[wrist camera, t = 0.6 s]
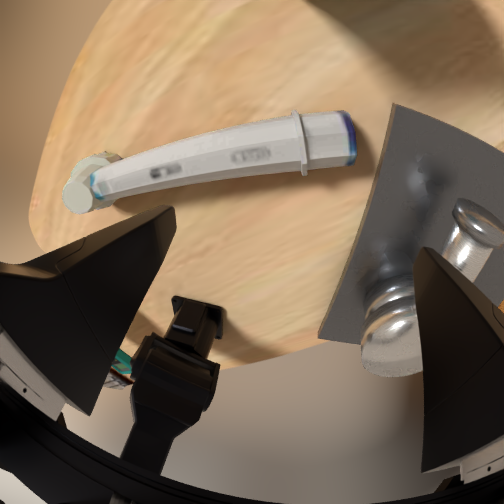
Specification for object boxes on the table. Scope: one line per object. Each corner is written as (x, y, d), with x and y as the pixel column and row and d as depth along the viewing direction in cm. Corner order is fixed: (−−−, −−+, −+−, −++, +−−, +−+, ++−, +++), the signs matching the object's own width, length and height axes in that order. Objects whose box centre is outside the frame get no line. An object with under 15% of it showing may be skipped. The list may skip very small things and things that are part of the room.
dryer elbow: (417, 350, 26) (422, 384, 22) (347, 342, 27) (347, 380, 23) (505, 215, 14) (532, 249, 11) (422, 183, 15) (448, 216, 12)
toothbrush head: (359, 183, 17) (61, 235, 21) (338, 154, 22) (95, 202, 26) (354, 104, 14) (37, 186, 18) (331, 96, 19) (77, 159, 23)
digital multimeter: (87, 318, 45) (79, 329, 43) (142, 363, 51) (137, 374, 48) (77, 325, 49) (71, 335, 47) (128, 366, 54) (123, 376, 52)
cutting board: (456, 347, 29) (462, 370, 26) (318, 331, 32) (316, 359, 29) (555, 189, 13) (576, 208, 10) (392, 102, 16) (410, 110, 13)
